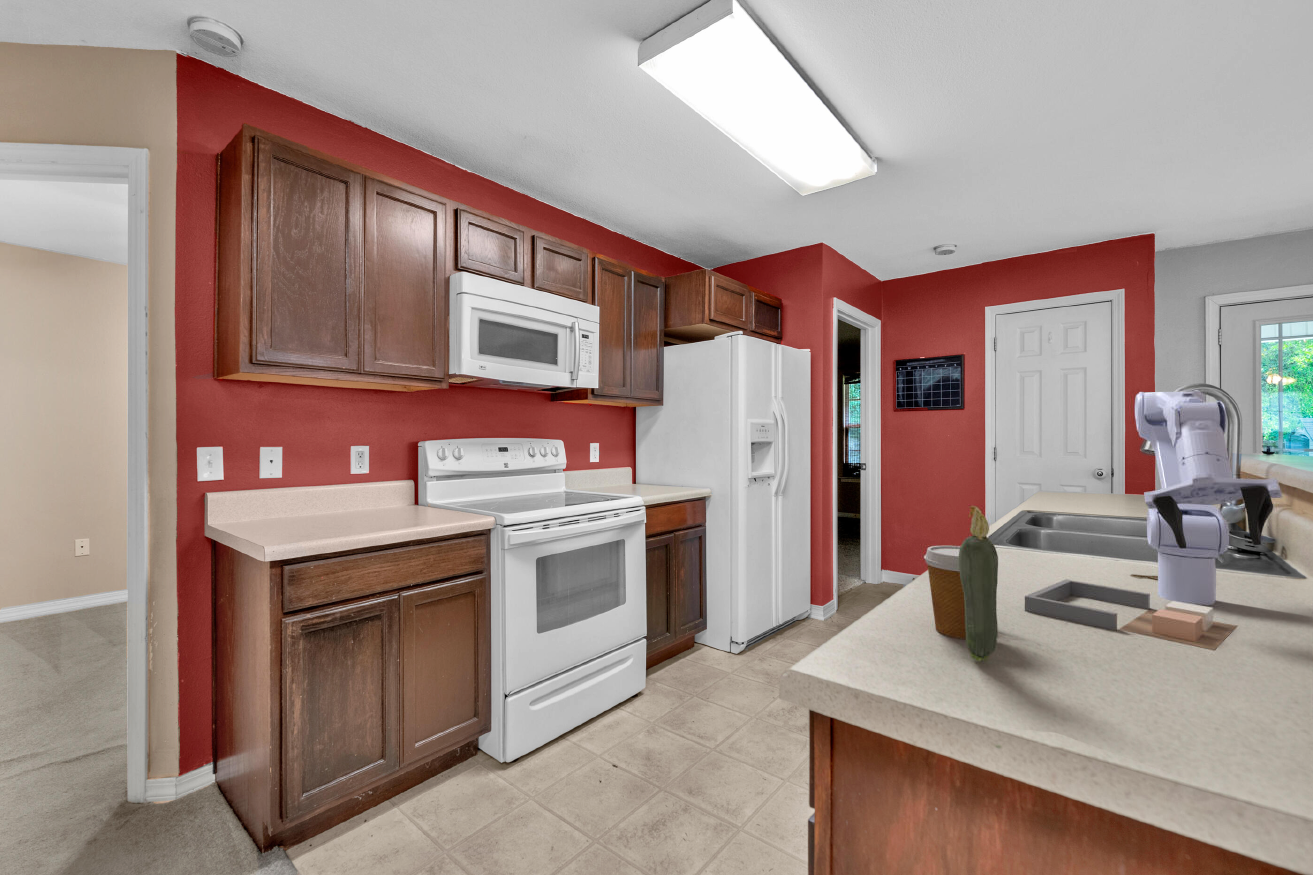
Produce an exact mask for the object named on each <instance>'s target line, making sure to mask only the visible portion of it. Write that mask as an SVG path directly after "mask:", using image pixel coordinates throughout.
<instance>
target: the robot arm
mask: <svg viewBox="0 0 1313 875" xmlns="http://www.w3.org/2000/svg"><path fill="white" fill-rule="evenodd" d="M1134 418H1135V425H1136V431H1137V432H1138V436H1139V438H1142V439H1144V440H1147V441H1148V442H1149V443H1150V444H1151V447H1152V450H1153V452H1154V455H1155V458H1156V464H1157V471H1158V475H1159V480H1160V481H1159V482H1160V489H1157V490H1152V491H1145V492H1143V494H1144V503H1145V505H1146V506H1147V508H1148V509H1147V514H1146V536H1147V538H1146V539H1147V544H1148V545H1149V546H1150V547H1151V548H1152V549H1155V550H1157V596H1158V597H1159V598H1161V599H1165V600H1169V601H1171V602H1172V601H1177V602H1182V603H1188V604H1194V605H1200V606H1212V605H1215V604H1216V602H1218V600H1217V567H1216V559H1218V558H1219V555H1223V554H1224V553H1225V552H1227V550H1228V549H1229V545H1230V544H1229V543H1230V530H1229V524H1228V522H1227V520H1226V519H1225V518H1224V516H1223V513H1222V511H1220V509H1219V507H1216V506H1214V505H1221V504H1225V503H1230V502H1234V501H1237V500H1243V503H1244V507H1245V511H1246V516H1247V526H1248V533H1249V537H1250V539H1251V542H1252V544H1253V545H1254V546H1261V545H1262V533H1263V530H1264V527H1265V523H1266V522H1267V519H1268V518H1269V516H1270V514H1272V512H1273V510H1274V503H1273V501H1272V499H1279V498H1283V495H1282V491H1281V487H1280V484H1279V481H1278V479H1277V478H1266V479H1265V478H1263V479H1260V478H1259V479H1255V478H1233V472H1232V469H1231V464H1230V458H1229V455H1228V454H1229V453H1228V449H1227V444H1226V440H1225V433H1226V428H1227V423H1228V421H1227V420H1228V417H1227V410H1226V407H1225V404H1224V403H1223V402H1222V401H1221V400H1217V401H1213V402H1206V401H1205V396H1204V394H1203V392H1201V391H1200V390H1198V389H1195V390H1191V391H1190V390H1186V391H1185V390H1183V391H1182V390H1180V391H1155V392H1152V391H1150V392H1144V391H1139V392H1138V393H1137V394H1136V395H1135V401H1134ZM1219 602H1222V603H1223V601H1221V600H1219Z"/></svg>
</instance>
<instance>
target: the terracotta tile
mask: <svg viewBox="0 0 1313 875" xmlns="http://www.w3.org/2000/svg"><path fill="white" fill-rule="evenodd" d="M1156 611H1157V612H1156V613H1154V614H1153V615H1152V632H1153V633H1158V634H1162V635H1167V636H1172V637H1177V638H1181V639H1186V640H1191V641H1196V640H1197V639H1198V638H1199V637H1200V636H1201V635H1202V617H1201V616H1196V615H1190V614H1185V613H1179V612H1174V611H1169V610H1165V609H1162V608H1160V609H1158V610H1156Z"/></svg>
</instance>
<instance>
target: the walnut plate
mask: <svg viewBox="0 0 1313 875" xmlns="http://www.w3.org/2000/svg"><path fill="white" fill-rule="evenodd" d="M1157 611H1158V610H1155V609H1150V608H1149V609H1147V611H1145V612H1143V613H1141V614H1140V615H1139V616H1137V617H1135V618H1134V619H1132V620H1131V621H1129V622H1128V623H1126V624H1125V625H1123V626H1122V627H1120V628H1119V629H1118V630H1119V631H1124V632H1128V633H1132V634H1138V635H1142V636H1146V637H1151V638H1154V639H1155V638H1156V639H1160V640H1164V641H1169V642H1174V643H1178V644H1184V645H1188V646H1192V647H1197V648H1202V649H1206V650H1209V651H1210V650H1212V651H1215V650H1216V649H1217V648H1218V647H1219V646H1220V645H1221V644H1222V643H1223V642H1224V641H1225V640H1226V639H1227V637H1229V636H1230V634H1231V633H1232V632H1233V631H1234V630H1235V629H1236V628H1237V627H1238V625H1235V624H1229V623H1226V622H1225V623H1224V622H1221V621H1220V622H1219V621H1216V620H1215V621H1214V620H1213V625H1212V626H1211V627H1210V628H1209V629H1208V630H1207V631H1204V630H1202V635H1201V636H1200V637H1199V638H1198V639H1197V640H1196V641H1191V640H1186V639H1181V638H1177V637H1172V636H1167V635H1162V634H1158V633H1153V632H1152V615H1153V614H1154V613H1156V612H1157Z"/></svg>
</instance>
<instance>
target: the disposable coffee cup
mask: <svg viewBox="0 0 1313 875" xmlns="http://www.w3.org/2000/svg"><path fill="white" fill-rule="evenodd" d="M960 546H961V545H960ZM960 546H959V545H931V546H929V547H927V550H926V554H924V556H923V559H924V560H925V563H926V564H927V572H928V579H929V586H930V595H931V603H932V611H933V619H934V625H935V626H934V627H935V630H936V631H937V632H938V633H939V634H942V635H945V636H947V637H951V638H955V639H963V640H966V628H965V601H964V592H963V587H962V583H961V579H960V571H959V550H960Z"/></svg>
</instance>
